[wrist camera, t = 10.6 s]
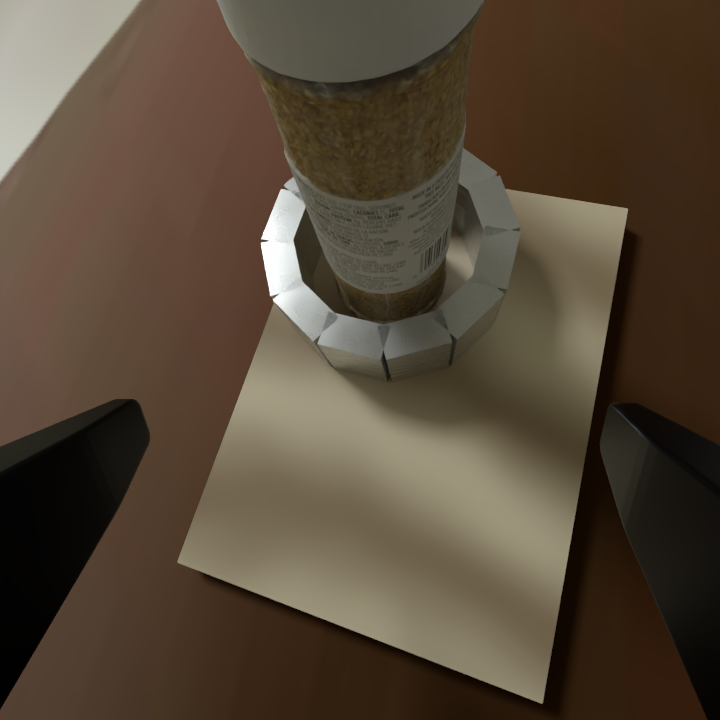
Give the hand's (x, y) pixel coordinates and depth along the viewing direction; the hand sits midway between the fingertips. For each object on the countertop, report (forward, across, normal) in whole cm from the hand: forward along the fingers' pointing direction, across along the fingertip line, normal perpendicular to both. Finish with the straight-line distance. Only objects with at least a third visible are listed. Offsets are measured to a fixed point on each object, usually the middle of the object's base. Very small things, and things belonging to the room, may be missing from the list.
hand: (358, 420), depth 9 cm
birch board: (+9, -1, +4) cm, 10 cm away
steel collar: (+11, 0, +1) cm, 11 cm away
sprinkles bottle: (+11, 0, +1) cm, 11 cm away
